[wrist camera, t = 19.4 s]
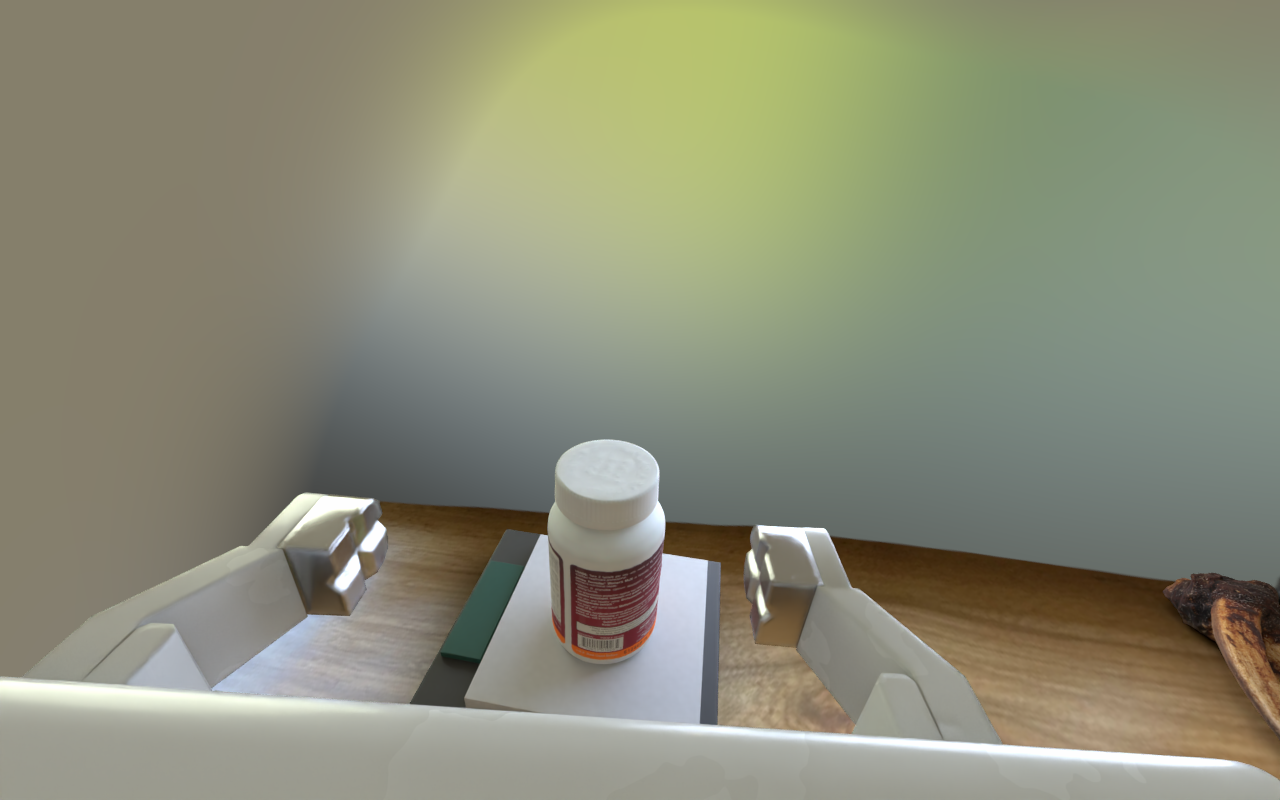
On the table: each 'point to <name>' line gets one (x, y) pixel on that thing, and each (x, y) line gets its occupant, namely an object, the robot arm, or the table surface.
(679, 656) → the scale
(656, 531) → the pill bottle
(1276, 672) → the lashed bone hook
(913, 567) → the table surface
